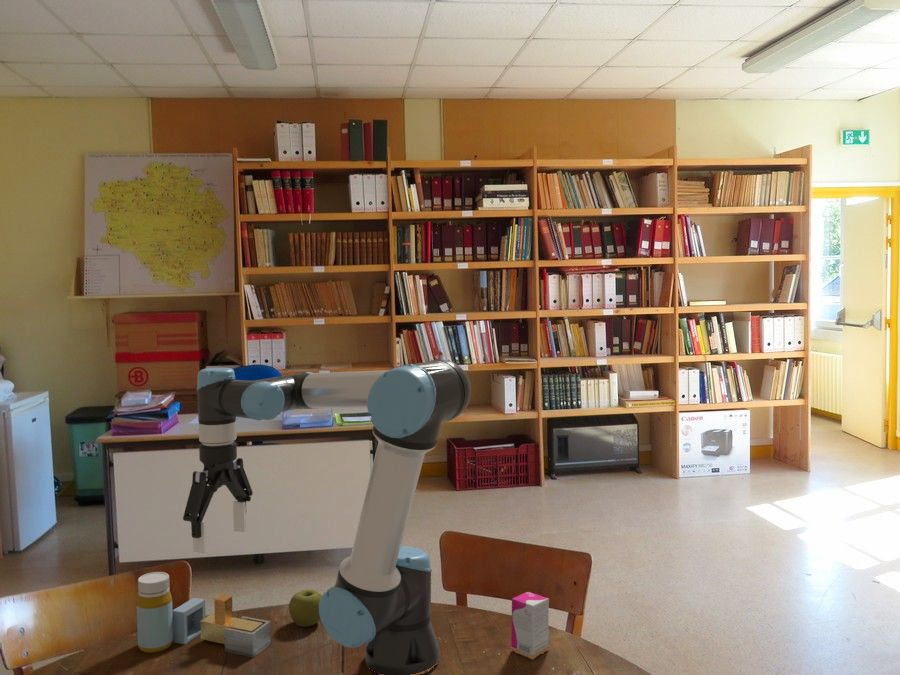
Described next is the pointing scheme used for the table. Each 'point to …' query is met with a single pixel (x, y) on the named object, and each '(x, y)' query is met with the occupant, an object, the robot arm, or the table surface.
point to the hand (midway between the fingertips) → (220, 541)
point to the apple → (305, 607)
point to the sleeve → (248, 639)
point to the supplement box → (530, 623)
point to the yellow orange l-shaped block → (224, 621)
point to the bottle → (154, 613)
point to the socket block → (188, 620)
